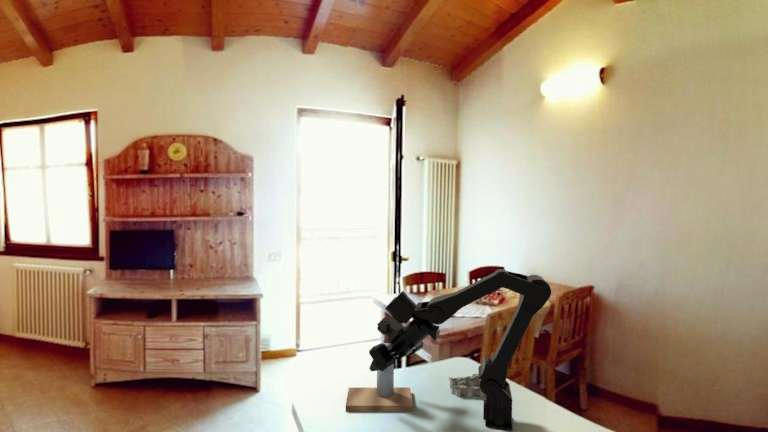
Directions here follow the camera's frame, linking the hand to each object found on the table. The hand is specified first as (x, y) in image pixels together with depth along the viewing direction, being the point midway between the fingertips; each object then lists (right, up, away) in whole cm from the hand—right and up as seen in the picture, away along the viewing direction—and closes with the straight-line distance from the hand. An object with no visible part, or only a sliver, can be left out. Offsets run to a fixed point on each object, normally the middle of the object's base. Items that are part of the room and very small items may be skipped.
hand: (380, 364), depth 111 cm
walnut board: (0, -10, -2) cm, 10 cm away
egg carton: (+26, -10, +4) cm, 28 cm away
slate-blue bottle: (+1, -8, -1) cm, 8 cm away
